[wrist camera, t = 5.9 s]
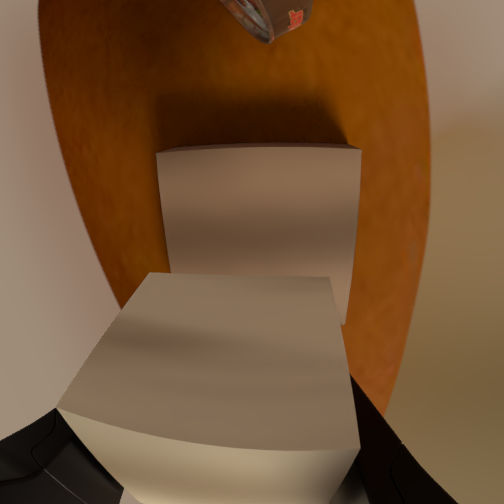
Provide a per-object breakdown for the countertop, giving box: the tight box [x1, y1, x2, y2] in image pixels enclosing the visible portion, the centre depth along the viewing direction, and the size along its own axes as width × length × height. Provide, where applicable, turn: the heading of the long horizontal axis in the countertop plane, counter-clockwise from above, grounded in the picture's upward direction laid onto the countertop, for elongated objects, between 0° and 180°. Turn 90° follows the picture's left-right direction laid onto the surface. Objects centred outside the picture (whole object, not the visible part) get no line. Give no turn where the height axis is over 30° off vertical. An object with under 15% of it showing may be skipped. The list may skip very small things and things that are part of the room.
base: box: [156, 142, 361, 325], centre depth 17 cm, size 10×10×3 cm
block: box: [56, 273, 360, 504], centre depth 7 cm, size 5×5×5 cm
